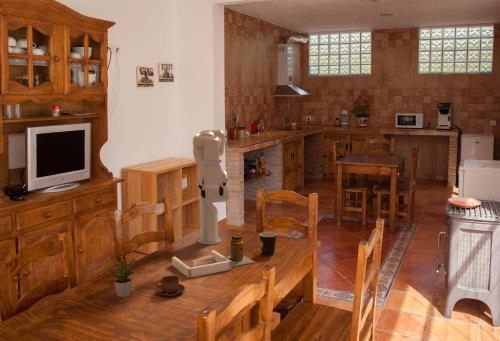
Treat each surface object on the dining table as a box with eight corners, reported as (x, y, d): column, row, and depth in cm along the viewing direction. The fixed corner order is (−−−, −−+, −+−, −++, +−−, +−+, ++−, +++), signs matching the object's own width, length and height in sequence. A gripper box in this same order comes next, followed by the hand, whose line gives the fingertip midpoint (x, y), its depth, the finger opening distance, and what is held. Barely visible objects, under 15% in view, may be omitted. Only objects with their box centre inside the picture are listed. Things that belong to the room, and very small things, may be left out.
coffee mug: (276, 256, 273) (276, 236, 271) (259, 256, 273) (259, 236, 271) (276, 249, 284) (276, 230, 283) (259, 249, 284) (259, 230, 283)
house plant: (128, 284, 235) (127, 248, 232) (149, 292, 226) (148, 254, 223) (100, 294, 224) (98, 256, 221) (121, 302, 215) (119, 263, 212)
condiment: (246, 259, 265) (246, 236, 263) (233, 263, 260) (233, 239, 258) (237, 256, 271) (237, 233, 269) (224, 260, 265) (223, 236, 263)
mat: (220, 258, 269) (220, 257, 269) (241, 255, 274) (241, 253, 274) (232, 266, 257) (232, 265, 256) (254, 262, 262) (254, 261, 262)
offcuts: (189, 272, 250) (189, 261, 249) (211, 265, 260) (210, 254, 260) (196, 274, 247) (195, 263, 246) (217, 267, 257) (217, 256, 257)
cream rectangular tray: (172, 265, 260) (172, 257, 259) (214, 257, 270) (213, 250, 270) (188, 277, 242) (188, 269, 242) (232, 269, 253) (232, 261, 252)
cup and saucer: (157, 300, 218) (157, 285, 217) (154, 289, 229) (154, 275, 228) (187, 296, 221) (186, 282, 220) (182, 286, 233) (182, 272, 232)
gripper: (224, 160, 275) (224, 193, 278) (192, 163, 267) (193, 197, 270) (230, 162, 269) (231, 196, 272) (198, 165, 261) (199, 199, 263)
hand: (212, 196), depth 271 cm, fingers open, 9 cm apart
